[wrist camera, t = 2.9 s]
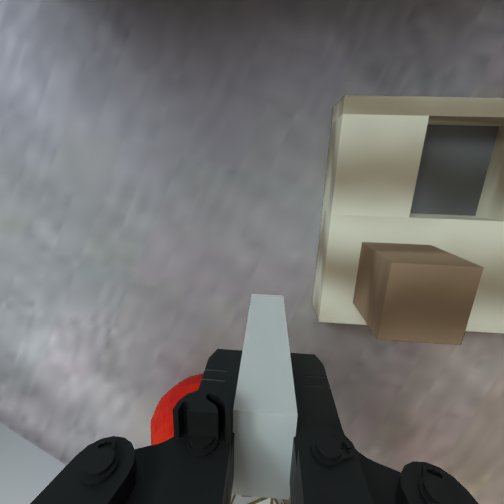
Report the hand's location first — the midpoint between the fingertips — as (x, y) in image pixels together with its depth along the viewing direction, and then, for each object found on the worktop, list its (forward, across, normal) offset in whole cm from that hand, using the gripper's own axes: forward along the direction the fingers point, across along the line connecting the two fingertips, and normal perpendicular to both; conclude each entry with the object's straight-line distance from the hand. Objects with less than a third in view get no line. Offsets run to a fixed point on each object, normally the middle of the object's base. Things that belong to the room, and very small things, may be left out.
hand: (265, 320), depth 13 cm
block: (+6, +8, 0) cm, 11 cm away
